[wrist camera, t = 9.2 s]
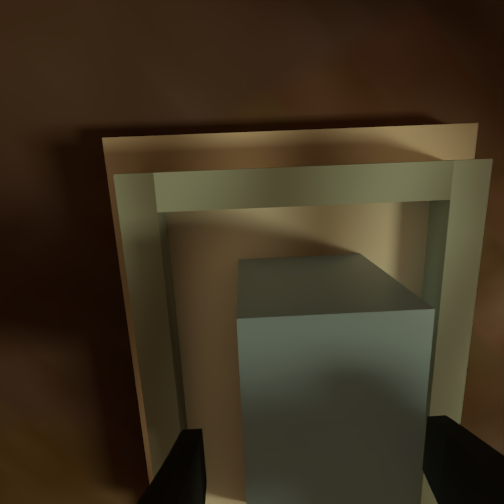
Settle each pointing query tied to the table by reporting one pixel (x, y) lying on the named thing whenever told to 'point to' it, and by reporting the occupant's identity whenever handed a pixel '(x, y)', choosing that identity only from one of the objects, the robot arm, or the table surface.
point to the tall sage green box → (331, 381)
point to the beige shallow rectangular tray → (283, 245)
